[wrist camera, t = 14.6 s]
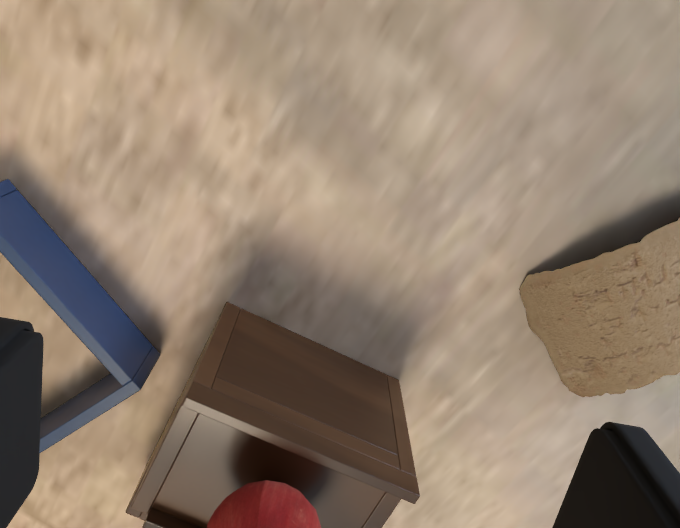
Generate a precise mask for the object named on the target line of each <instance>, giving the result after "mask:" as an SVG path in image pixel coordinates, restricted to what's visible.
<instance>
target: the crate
mask: <svg viewBox="0 0 680 528" xmlns="http://www.w3.org/2000/svg"><path fill="white" fill-rule="evenodd" d="M0 252H1V253H2V254H3V255H4V256H5V258H6V259H7V260H8V261H9V262H10V263H11V264H12V265H13V266H14V267H15V269H16V270H17V271H18V272H19V273H20V274H21V275H22V276H23V277H24V278H25V280H26V281H27V282H28V283H29V284H30V285H31V286H32V287H33V288H34V289H35V290H36V292H37V293H38V294H39V295H40V296H41V297H42V298H43V299H44V300H45V301H46V303H47V304H48V305H49V306H50V307H51V308H52V309H53V310H54V311H55V312H56V314H57V315H58V316H59V317H60V318H61V319H62V320H63V321H64V322H65V323H66V325H67V326H68V327H69V328H70V329H71V330H72V331H73V332H74V333H75V334H76V336H77V337H78V338H79V339H80V340H81V341H82V342H83V343H84V344H85V345H86V346H87V348H88V349H89V350H90V351H91V352H92V353H93V354H94V355H95V356H96V357H97V359H98V360H99V361H100V362H101V363H102V364H103V365H104V366H105V367H106V368H107V370H108V371H109V372H110V373H111V374H109V375H108V376H106V377H104V378H103V379H101V380H100V381H98V382H97V383H95V384H94V385H92V386H90V387H89V388H87V389H86V390H84V391H83V392H81V393H80V394H78V395H76V396H75V397H73V398H72V399H70V400H69V401H67V402H66V403H64V404H63V405H61V406H59V407H58V408H56V409H55V410H53V411H52V412H50V413H49V414H47V415H45V416H44V417H42V418H41V422H40V451H39V453H41V452H42V451H44V450H46V449H47V448H49V447H50V446H52V445H54V444H55V443H57V442H58V441H60V440H62V439H63V438H65V437H66V436H68V435H69V434H71V433H73V432H74V431H76V430H77V429H79V428H81V427H82V426H84V425H85V424H87V423H89V422H90V421H92V420H93V419H95V418H96V417H98V416H100V415H101V414H103V413H104V412H106V411H108V410H109V409H111V408H112V407H114V406H116V405H117V404H119V403H120V402H122V401H123V400H125V399H127V398H128V397H130V396H131V395H133V394H135V393H136V392H138V391H139V390H141V388H142V386H143V384H144V383H145V381H146V379H147V377H148V376H149V374H150V372H151V370H152V369H153V367H154V365H155V363H156V362H157V360H158V358H159V356H160V353H159V352H158V351H157V350H156V349H155V347H154V346H153V347H152V344H151V343H150V342H149V341H148V340H147V338H146V337H145V336H144V335H143V334H142V333H141V332H140V330H139V329H138V328H137V327H136V326H135V325H134V323H133V322H132V321H131V320H130V319H129V318H128V317H127V315H126V314H125V313H124V312H123V311H122V310H121V309H120V307H119V306H118V305H117V304H116V303H115V302H114V300H113V299H112V298H111V297H110V296H109V295H108V294H107V292H106V291H105V290H104V289H103V288H102V287H101V285H100V284H99V283H98V282H97V281H96V280H95V279H94V277H93V276H92V275H91V274H90V273H89V272H88V271H87V269H86V268H85V267H84V266H83V265H82V264H81V262H80V261H79V260H78V259H77V258H76V257H75V256H74V254H73V253H72V252H71V251H70V250H69V249H68V247H67V246H66V245H65V244H64V243H63V242H62V241H61V239H60V238H59V237H58V236H57V235H56V234H55V233H54V231H53V230H52V229H51V228H50V227H49V226H48V224H47V223H46V222H45V221H44V220H43V219H42V218H41V216H40V215H39V214H38V213H37V212H36V211H35V209H34V208H33V207H32V206H31V205H30V204H29V203H28V201H27V200H26V199H25V198H24V197H23V196H22V195H21V193H20V192H19V191H18V190H16V187H15V186H14V185H13V184H12V183H11V182H10V180H9V179H6V180H4V181H1V182H0Z"/></svg>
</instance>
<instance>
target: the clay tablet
mask: <svg viewBox="0 0 680 528" xmlns="http://www.w3.org/2000/svg"><path fill="white" fill-rule="evenodd" d="M519 290H520V295H521V299H522V301H523V304H524V306H525V308H526V314H527V320H528V324H529V327H530V328H531V330H532V331H533V332H534V333H535V334H536V335H537V336H538V337H539V338H540V339H541V340H542V341H543V342H544V344H545V346H546V348H547V350H548V353H549V355H550V357H551V359H552V361H553V364H554V366H555V368H556V370H557V371H558V373H559V376H560V378H561V381H562V382H563V384H564V385H565V386H566V387H568V389H569V391H571V392H573V393H575V394H577V395H579V396H581V397H585V396H588V397H591V396H596V395H601V396H602V395H603V394H604V393H609V394H616V393H617V394H621V393H625V391H626V390H627V389H637V388H640V387H643V386H645V385H648V384H650V383H653V382H654V381H655V380H656V379H659V378H661V377H662V376H664V375H677V374H678V373H679V372H680V218H679V219H678V221H677V222H672V223H671V224H668V225H666V226H664V227H661V228H659V229H657V230H655V231H653V232H651V233H649V234H648V235H646V236H645V237H644V238H643V239H642V240H641V241H640V242H639V243H634V244H629V245H626V246H624V247H622V248H620V249H616V250H615V251H614V252H607V253H603V254H602V255H599V256H598V257H596V258H594V259H591V260H585V261H581V262H580V263H577V264H572V265H571V266H569V267H564V268H562V269H561V270H560V269H556V270H554V271H553V272H552V271H544V272H541V273H535V274H534V275H532V274H530V275H528V276H527V277H526V278H525V280H524V282H523V284H522V285H521V287H520V289H519Z"/></svg>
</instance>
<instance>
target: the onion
mask: <svg viewBox="0 0 680 528" xmlns="http://www.w3.org/2000/svg"><path fill="white" fill-rule="evenodd" d="M207 528H321V525H320V522H319V518H318V515H317V512H316V509H315V508H314V507H313V506H312V505H311V503H310V502H309V501H308V500H307V499H306V498H305V497H304V495H303V494H302V493H301V492H300V491H299V490H297V489H295V488H293V487H291V486H289V485H287V484H286V483H281V482H275V481H268V480H265V481H258V482H252V483H248V484H246V485H244V486H242V487H241V488H239V489H237V490H236V491H234V492H233V493H231V494H230V495H229V496H227V497H226V498H225V499H224V500H223V501H222V503H221V504H220V505H219V506H218V507H217V509H216V510H215V511H214V513H213V515H212V516H211V518H210V520H209V522H208V525H207Z"/></svg>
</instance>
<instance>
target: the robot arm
mask: <svg viewBox="0 0 680 528" xmlns="http://www.w3.org/2000/svg"><path fill="white" fill-rule="evenodd" d="M42 366H43V337H42V335H41V334H40V333H37V332H34V329H33V326H32V324H31V323H30V322H25V321H19V320H14V319H8V318H2V317H0V528H6V527H7V526H8V524H9V523H10V521H11V520H12V518H13V517H14V516H15V514H16V513H17V511H18V510H19V508H20V507H21V505H22V504H23V502H24V501H25V499H26V498H27V497H28V495H29V494H30V492H31V490H32V489H33V486H34V484H35V482H36V479H37V475H38V470H39V451H40V422H41V394H42ZM553 528H680V473H679V472H678V471H677V469H676V468H675V467H674V466H673V464H672V463H671V462H670V461H669V459H668V458H667V457H666V456H665V454H664V453H663V452H662V451H661V449H660V448H659V447H658V445H657V444H656V443H655V442H654V440H653V439H652V438H651V437H650V435H649V434H648V433H647V432H646V431H645V430H644V429H643V428H640V427H636V426H630V425H624V424H618V423H612V422H607V423H605V424H604V425H603V426H602V427H601V428H600V429H598V428H597V429H594V430H593V431H592V432H591V434H590V436H589V438H588V440H587V443H586V445H585V448H584V450H583V453H582V455H581V458H580V460H579V463H578V465H577V468H576V470H575V473H574V475H573V478H572V480H571V483H570V485H569V488H568V490H567V493H566V495H565V498H564V500H563V503H562V505H561V508H560V510H559V513H558V515H557V518H556V520H555V523H554V525H553Z"/></svg>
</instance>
